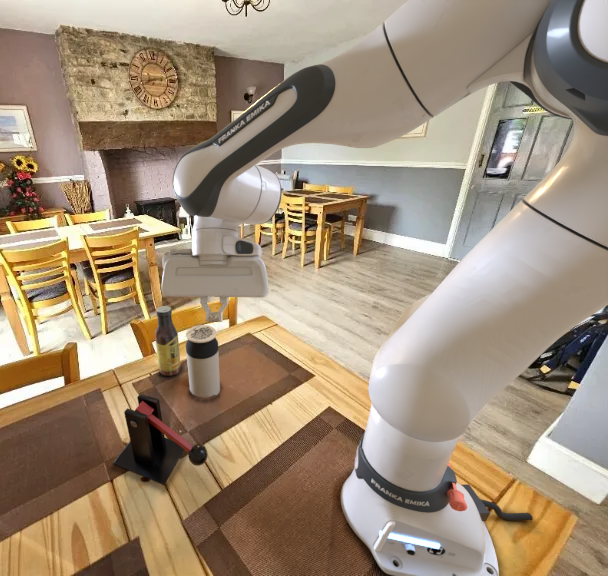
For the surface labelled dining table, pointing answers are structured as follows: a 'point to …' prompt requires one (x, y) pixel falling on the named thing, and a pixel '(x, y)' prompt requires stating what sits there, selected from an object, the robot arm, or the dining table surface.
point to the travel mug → (203, 361)
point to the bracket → (148, 445)
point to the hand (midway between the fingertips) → (214, 321)
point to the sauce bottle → (167, 343)
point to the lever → (175, 437)
